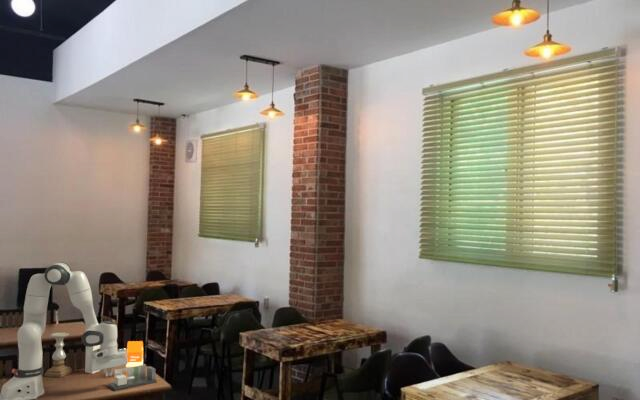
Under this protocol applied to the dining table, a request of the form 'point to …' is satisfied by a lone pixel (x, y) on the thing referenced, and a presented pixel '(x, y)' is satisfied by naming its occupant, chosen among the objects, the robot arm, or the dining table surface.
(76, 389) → the dining table surface
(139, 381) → the bench
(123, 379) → the white block
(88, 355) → the milk
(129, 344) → the orange juice
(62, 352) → the candle holder
